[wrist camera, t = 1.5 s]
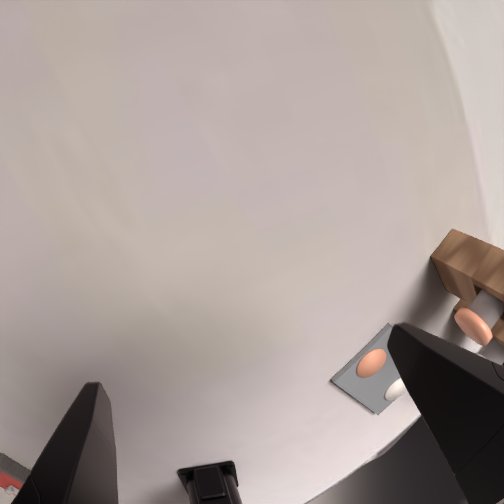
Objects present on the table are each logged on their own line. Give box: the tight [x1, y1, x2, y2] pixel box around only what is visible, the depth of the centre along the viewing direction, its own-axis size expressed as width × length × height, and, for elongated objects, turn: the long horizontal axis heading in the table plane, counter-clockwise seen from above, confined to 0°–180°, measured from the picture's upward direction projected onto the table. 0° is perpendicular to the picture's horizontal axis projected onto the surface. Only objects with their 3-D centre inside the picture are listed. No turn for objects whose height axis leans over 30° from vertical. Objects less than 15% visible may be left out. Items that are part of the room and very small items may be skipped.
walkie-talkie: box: [0, 453, 31, 495], centre depth 24 cm, size 9×4×20 cm
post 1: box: [431, 229, 504, 326], centre depth 25 cm, size 4×6×11 cm, turn 43°
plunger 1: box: [454, 289, 504, 346], centre depth 23 cm, size 7×4×4 cm, turn 133°
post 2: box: [454, 299, 504, 347], centre depth 29 cm, size 4×6×11 cm, turn 43°
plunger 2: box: [475, 338, 504, 365], centre depth 27 cm, size 7×4×4 cm, turn 133°
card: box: [331, 323, 406, 415], centre depth 32 cm, size 8×12×1 cm, turn 43°
